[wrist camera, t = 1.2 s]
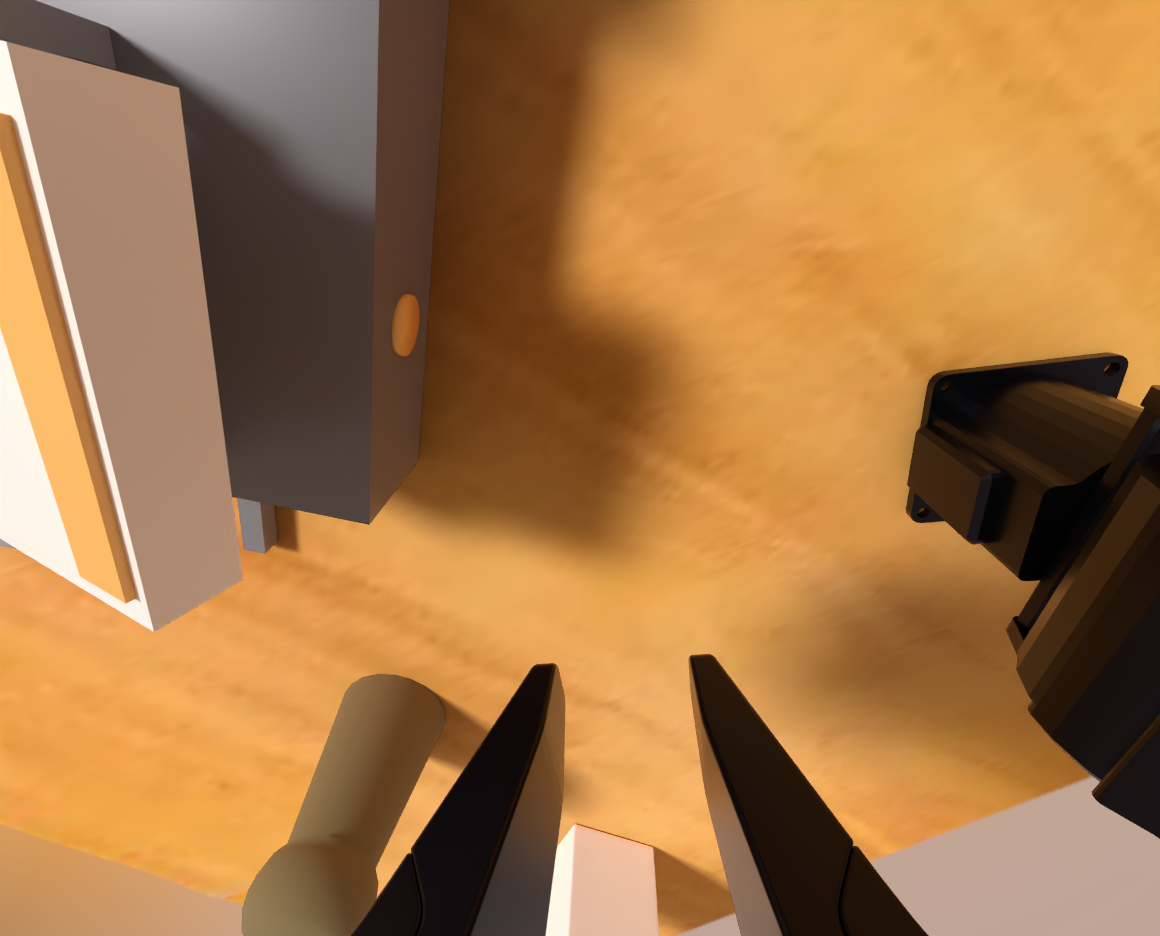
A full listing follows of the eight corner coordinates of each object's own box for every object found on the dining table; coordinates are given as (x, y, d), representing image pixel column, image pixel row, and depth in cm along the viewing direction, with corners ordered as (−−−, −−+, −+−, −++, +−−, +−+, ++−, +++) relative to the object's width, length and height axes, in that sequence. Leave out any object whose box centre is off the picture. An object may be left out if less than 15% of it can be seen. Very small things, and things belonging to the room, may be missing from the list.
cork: (446, 682, 28) (360, 930, 19) (444, 749, 31) (369, 995, 21) (339, 667, 28) (196, 908, 19) (347, 735, 31) (227, 976, 21)
